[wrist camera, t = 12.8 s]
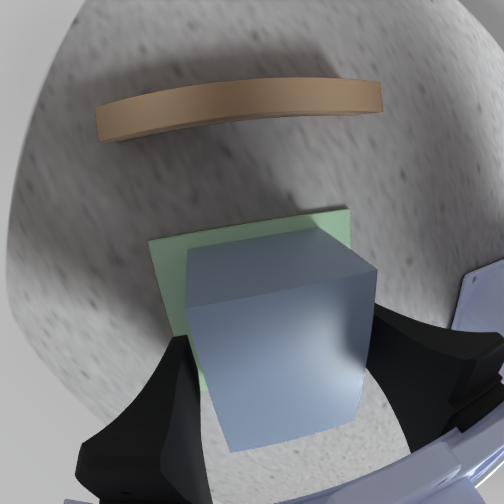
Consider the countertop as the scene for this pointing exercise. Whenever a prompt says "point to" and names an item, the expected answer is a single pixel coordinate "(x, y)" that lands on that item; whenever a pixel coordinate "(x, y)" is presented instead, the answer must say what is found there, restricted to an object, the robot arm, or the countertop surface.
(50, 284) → the countertop surface
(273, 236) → the grey-blue rectangular brick
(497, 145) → the countertop surface
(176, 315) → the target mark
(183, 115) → the wall
